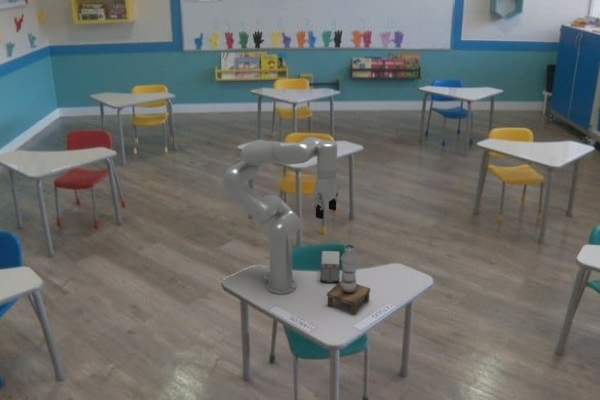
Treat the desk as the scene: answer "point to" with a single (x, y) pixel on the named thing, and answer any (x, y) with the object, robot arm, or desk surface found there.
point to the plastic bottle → (349, 270)
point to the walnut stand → (348, 296)
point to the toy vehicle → (330, 266)
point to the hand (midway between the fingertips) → (326, 213)
